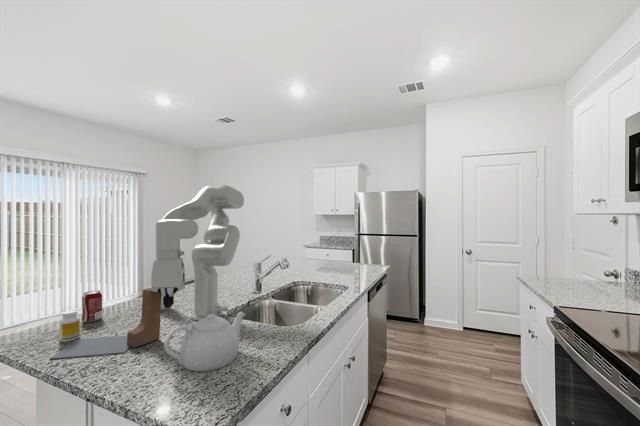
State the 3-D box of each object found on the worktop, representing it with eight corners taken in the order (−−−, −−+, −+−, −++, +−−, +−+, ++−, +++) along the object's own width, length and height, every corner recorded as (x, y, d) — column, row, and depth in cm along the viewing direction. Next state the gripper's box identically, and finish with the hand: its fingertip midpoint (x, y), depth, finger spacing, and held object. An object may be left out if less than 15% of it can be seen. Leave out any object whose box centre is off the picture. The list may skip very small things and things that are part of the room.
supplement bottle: (82, 337, 107) (82, 310, 107) (65, 343, 102) (64, 315, 102) (74, 334, 109) (74, 308, 109) (57, 340, 104) (56, 313, 104)
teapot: (194, 345, 99) (193, 305, 99) (247, 345, 99) (247, 305, 99) (162, 376, 81) (162, 327, 81) (228, 376, 80) (227, 327, 80)
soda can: (106, 318, 126) (105, 290, 126) (89, 324, 119) (89, 294, 119) (95, 316, 128) (95, 289, 128) (78, 322, 122) (77, 293, 122)
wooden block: (134, 348, 96) (137, 293, 97) (126, 345, 98) (129, 291, 99) (159, 339, 104) (162, 288, 105) (152, 336, 106) (154, 287, 107)
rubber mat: (142, 335, 108) (142, 334, 108) (124, 353, 94) (124, 352, 94) (79, 340, 104) (79, 339, 104) (49, 359, 90) (49, 358, 90)
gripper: (193, 252, 108) (193, 302, 108) (149, 254, 105) (149, 305, 105) (187, 255, 100) (188, 308, 100) (140, 257, 98) (140, 311, 98)
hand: (168, 306), depth 103 cm, fingers closed
